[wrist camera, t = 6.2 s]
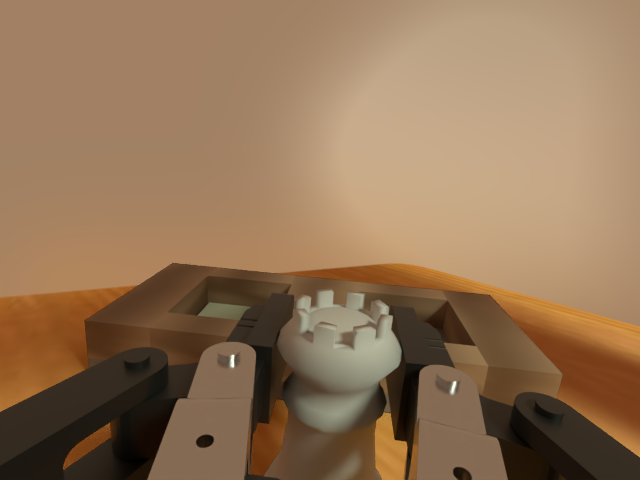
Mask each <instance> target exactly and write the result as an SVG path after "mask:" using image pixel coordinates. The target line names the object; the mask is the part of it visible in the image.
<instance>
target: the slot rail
mask: <svg viewBox="0 0 640 480" xmlns="http://www.w3.org/2000/svg"><path fill="white" fill-rule="evenodd" d="M323 289H332V291H333V292H334V295H333V304H343V305H346V302H347V293H348V290H351V291H355V292H360V293H364V294H365V300H364V308H363V309H365V310H367V311H370V309H371V301H376V300H381V301H382V302H383V303H384V304H386V305H387V306H388V307H389V310H390V306H391V305H398V306H407V307H413V308H414V310H415V313H416V316H417V318H418V321H419V322H424V323H429V324H430V325H431V326H433V327H434V328H435V329H436V330H437V331H438V332H439V334H440V336H441V338H442V342H444V345H445V347H446V349H447V351H448V353H449V355H450V357H451V360H452V362H453V364H454V366H455V368H456V369H458V370H460V371H462V372H464V373H465V374H467V375H468V376H470V377H471V378H472V379H473V380H474V382H475V383H476V385H477V388H478V393H479V394H480V395H481V396H484V397H486V398H489V399H492V400H495V401H498V402H501V403H504V404H507V405H511V406H513V404H514V400H515V397H516V396H517V395H518V394H520V393H523V392H536V393H541V394H545V395H548V396H551V397H554V398H556V399H557V395H558V391H559V388H560V384H561V380H562V377H563V374H562V373H561V372H560V371H559V370H558V368H557V367H556V366H555V365H554V364H553V363H552V362H551V361H550V360H549V359H548V358H547V357H546V355H545V354H544V353H543V352H542V351H541V350H540V349H539V348H538V347H537V346H536V345H535V343H534V342H533V341H532V340H531V339H530V338H529V337H528V336H527V335H526V334H525V333H524V332H523V330H522V329H521V328H520V327H519V326H518V325H517V324H516V323H515V322H514V321H513V320H512V318H511V317H510V316H509V315H508V314H507V313H506V312H505V311H504V310H503V309H502V308H501V307H500V305H499V304H498V303H497V302H496V301H495V300H494V299H493V298H492V297H491V296H490V295H485V294H475V293H465V292H455V291H445V290H435V289H425V288H415V287H405V286H396V285H386V284H376V283H366V282H356V281H346V280H336V279H326V278H316V277H306V276H297V275H287V274H277V273H267V272H257V271H247V270H237V269H227V268H217V267H206V266H196V265H188V264H178V263H172V264H170V265H169V266H167V267H166V268H165V269H163V270H161V271H160V272H158V273H157V274H155V275H154V276H152V277H151V278H149V279H147V280H146V281H144V282H143V283H141V284H140V285H138V286H137V287H135V288H134V289H132V290H131V291H129V292H128V293H126V294H124V295H123V296H121V297H120V298H118V299H117V300H115V301H114V302H112V303H111V304H109V305H108V306H106V307H105V308H103V309H101V310H100V311H98V312H97V313H95V314H94V315H92V316H91V317H89V318H88V319H86V320H85V331H86V342H87V353H88V364H89V368H90V367H92V366H94V365H96V364H98V363H100V362H103V361H105V360H107V359H109V358H111V357H113V356H115V355H117V354H119V353H121V352H123V351H126V350H129V349H133V348H140V347H153V348H158V349H161V350H163V351H164V352H165V353H166V354H167V355H168V365H180V364H191V363H197V362H199V361H200V358H201V355H202V353H203V352H204V351H205V350H206V349H207V348H209V347H211V346H213V345H215V344H219V343H223V342H226V340H227V338H228V337H229V335H230V334H231V332H232V331H233V329H234V328H235V326H236V325H237V323H238V321H239V320H240V319H241V317H242V315H243V314H244V312H245V311H246V310H247V309H249V308H251V307H252V306H254V305H264V306H266V304H267V302H268V300H269V298H270V296H271V295H272V293H283V294H293V295H294V300H296V299H297V298H298V297H299V296H301V295H302V294H304V295H306V296H309V297H311V306H313V305H314V301H315V290H323ZM388 315H389V314H388ZM291 373H292V369H291V368H290V366H289V365H288V364H286V367H285V371H284V374H283V377H282V381H281V384H280V387H279V391H278V394H277V397H276V399H283V397H282V389H283V383H284V381H285V380H286V379H287V378H288V377H289V375H290V374H291ZM380 385H381V386H382V388H383V389H384V393H385V397H386V401H387V404H386V406H385V409H384V412H391V411H390V404H389V397H388V390H387V383H386V377H384V378H383V379H382V380H381V381H380Z"/></svg>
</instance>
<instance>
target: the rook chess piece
mask: <svg viewBox="0 0 640 480" xmlns="http://www.w3.org/2000/svg"><path fill="white" fill-rule="evenodd" d="M333 295H334V292H333V291H332V289H323V290H315V301H314V305H313V306H311V297H309V296H306V295H304V294H302V295H301V296H299V297H298V298H297V299H296V300H294V309H293V318H292V319H291V320H290V321H289V322H288V323H287V324H286V325H285V326H284V327H283V328H282V329H281V330H280V331H279V334H278V337H277V341H276V346H277V348H278V350H279V351H280V353H281V355H282V357H283V359H284V360H285V361H286V362H287V364H288V365H289V366H290V368H291V369H292V373H291V374H290V375H289V377H288V378H287V379H286V380H285V381H284V383H283V389H282V397H283V400H284V402H285V404H286V406H287V408H288V420H287V424H286V429H285V433H284V438H283V442H282V446H281V451H280V452H279V453H278V455H277V456H276V458H275V459H274V461H273V462H272V464H271V465H270V467H269V468H268V470H267V471H266V473H265V474H264V476H266V477H273V478H278V479H280V480H382V479H381V476H380V474H379V472H378V471H377V469H376V468H375V427H376V420H377V419H378V418H380V417H381V416H382V415H383V412H384V409H385V406H386V404H387V401H386V397H385V393H384V389H383V388H382V386H381V385H380V381H381V380H382V379H383V378H384V377H386V376H387V375H388V374H389V373H391V372H392V371H393V370H394V369H396V368H397V367H398V366H399V364H400V361H401V358H402V356H403V352H402V349H401V346H400V344H399V341H398V339H397V338H396V336H395V335H394V333H393V332H392V330H391V327H392V319H393V316H391V315H388V314H389V307H388V306H387V305H386V304H384V303H383V302H382V301H381V300H376V301H371V309H370V311H367V310H365V309H363V308H364V300H365V294H364V293H360V292H355V291H351V290H348V293H347V302H346V305H343V304H333Z"/></svg>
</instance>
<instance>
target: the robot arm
mask: <svg viewBox="0 0 640 480" xmlns="http://www.w3.org/2000/svg"><path fill="white" fill-rule="evenodd" d="M293 309H294V295H293V294H283V293H272V295H271V296H270V298H269V300H268V302H267V304H266V306H264V305H254V306H252V307H251V308H249V309H247V310H246V311H245V312H244V314H243V315H242V317H241V319H240V320H239V321H238V323H237V325H236V326H235V328H234V329H233V331H232V332H231V334H230V335H229V337H228V338H227V340H226V342H223V343H219V344H215V345H213V346H211V347H209V348H207V349H206V350H205V351H204V352H203V353H202V355H201V358H200V361H199V362H197V363H191V364H180V365H168V355H167V354H166V353H165V352H164V351H163V350H161V349H158V348H153V347H140V348H133V349H129V350H126V351H123V352H121V353H119V354H117V355H115V356H113V357H111V358H109V359H107V360H105V361H103V362H100V363H98V364H96V365H94V366H92V367H90V368H88V369H86V370H84V371H82V372H80V373H78V374H76V375H74V376H72V377H70V378H68V379H66V380H64V381H62V382H60V383H58V384H56V385H54V386H52V387H50V388H48V389H46V390H44V391H42V392H40V393H38V394H36V395H34V396H32V397H30V398H28V399H26V400H24V401H22V402H20V403H18V404H16V405H14V406H12V407H9V408H7V409H5V410H3V411H1V412H0V480H280V479H278V478H273V477H266V476H258V475H251V465H252V450H253V434H254V432H255V430H256V427H257V424H258V422H259V423H267V424H269V421H270V417H271V414H272V411H273V407H274V404H275V401H276V397H277V394H278V391H279V387H280V384H281V381H282V377H283V374H284V371H285V367H286V364H287V362H286V361H285V360H284V359H283V357H282V355H281V353H280V351H279V350H278V348H277V346H276V341H277V337H278V334H279V331H280V330H281V329H282V328H283V327H284V326H285V325H286V324H287V323H288V322H289V321H290V320H291V319H292V318H293ZM389 315H391V316H393V319H392V327H391V330H392V332H393V333H394V335H395V336H396V338H397V339H398V341H399V344H400V346H401V349H402V352H403V356H402V358H401V361H400V364H399V366H398V367H397V368H396V369H394V370H393V371H392V372H391V373H389V374H388V375H387V376H386V383H387V390H388V397H389V404H390V411H391V418H392V425H393V432H394V439H395V440H399V441H407V447H408V448H407V454H406V460H405V469H404V480H640V457H638V456H637V455H636V454H634V453H633V452H631V451H630V450H629V449H627V448H626V447H625V446H623V445H622V444H621V443H619V442H618V441H616V440H615V439H614V438H612V437H611V436H610V435H608V434H607V433H606V432H604V431H603V430H602V429H600V428H599V427H597V426H596V425H595V424H593V423H592V422H591V421H589V420H588V419H587V418H585V417H584V416H582V415H581V414H580V413H578V412H577V411H576V410H574V409H573V408H572V407H570V406H569V405H567V404H566V403H564V402H562V401H560V400H558V399H556V398H554V397H551V396H548V395H545V394H541V393H536V392H523V393H520V394H518V395H517V396H516V397H515V400H514V404H513V406H511V405H507V404H504V403H501V402H498V401H495V400H492V399H489V398H486V397H484V396H481V395H480V394H479V393H478V388H477V385H476V383H475V382H474V380H473V379H472V378H471V377H470V376H468V375H467V374H465V373H464V372H462V371H460V370H458V369H456V368H455V366H454V364H453V362H452V360H451V357H450V355H449V353H448V351H447V349H446V347H445V345H444V342H442V338H441V336H440V334H439V332H438V331H437V330H436V329H435V328H434V327H433V326H431V325H430V324H429V323H424V322H419V321H418V318H417V316H416V313H415V310H414V308H413V307H407V306H398V305H391V306H390V310H389ZM109 422H110V426H111V438H109V439H108V440H107V441H105V442H104V443H102V444H101V445H99V446H98V447H96V448H95V449H94V450H92V451H91V452H89V453H88V454H86V455H85V456H83V457H82V458H81V459H79V460H78V461H76V462H75V463H73V464H72V465H70V466H69V467H68V468H66V469H65V470H63V464H64V461H65V459H66V457H67V455H68V453H69V452H70V451H71V450H72V448H73V447H74V446H75V445H77V444H78V443H79V442H80V441H82V440H83V439H85V438H86V437H88V436H89V435H91V434H93V433H94V432H96V431H97V430H99V429H100V428H102V427H103V426H105V425H106V424H108V423H109Z"/></svg>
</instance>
